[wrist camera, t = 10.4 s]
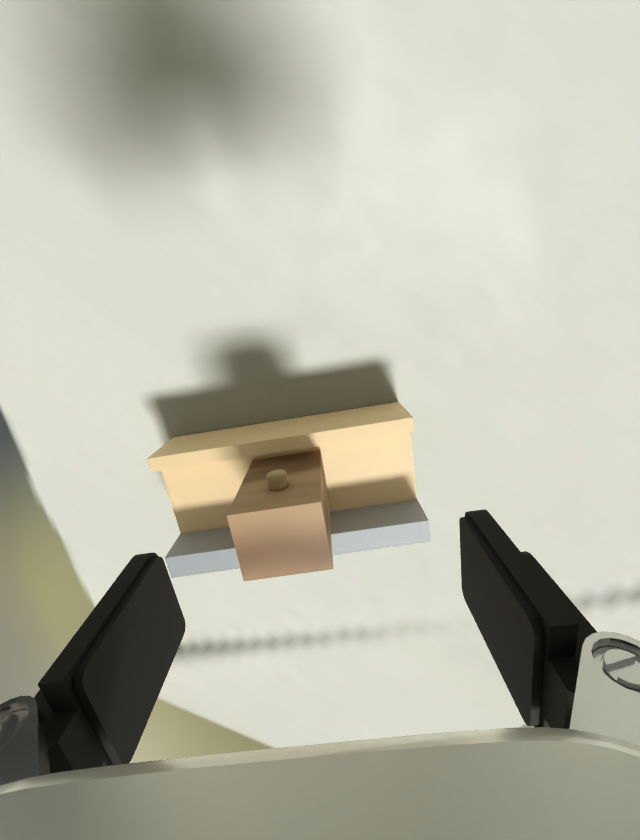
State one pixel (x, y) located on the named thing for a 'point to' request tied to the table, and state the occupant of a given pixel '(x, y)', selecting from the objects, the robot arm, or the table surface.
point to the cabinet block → (282, 517)
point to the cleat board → (329, 432)
